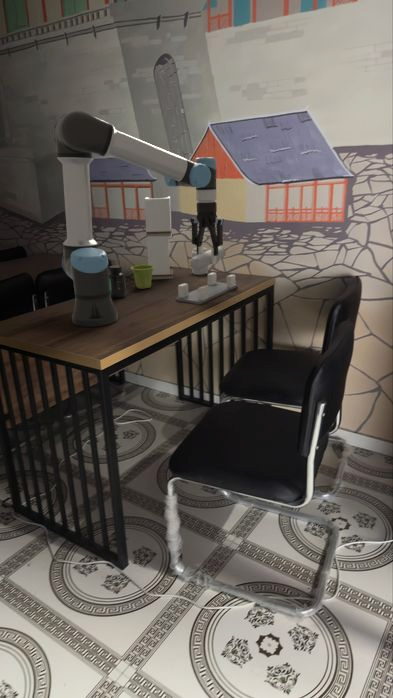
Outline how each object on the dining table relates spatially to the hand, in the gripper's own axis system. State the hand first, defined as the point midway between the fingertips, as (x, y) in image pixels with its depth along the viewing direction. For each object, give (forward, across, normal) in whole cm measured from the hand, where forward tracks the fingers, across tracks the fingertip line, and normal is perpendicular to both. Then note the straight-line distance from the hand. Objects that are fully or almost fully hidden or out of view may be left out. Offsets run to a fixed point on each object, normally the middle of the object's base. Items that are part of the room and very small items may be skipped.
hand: (207, 263), depth 193 cm
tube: (+1, 0, 0) cm, 1 cm away
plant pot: (+12, +30, +3) cm, 33 cm away
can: (+12, +22, -30) cm, 39 cm away
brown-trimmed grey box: (+12, +36, -18) cm, 41 cm away
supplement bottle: (+12, +30, +20) cm, 38 cm away
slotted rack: (+12, 0, 0) cm, 12 cm away
